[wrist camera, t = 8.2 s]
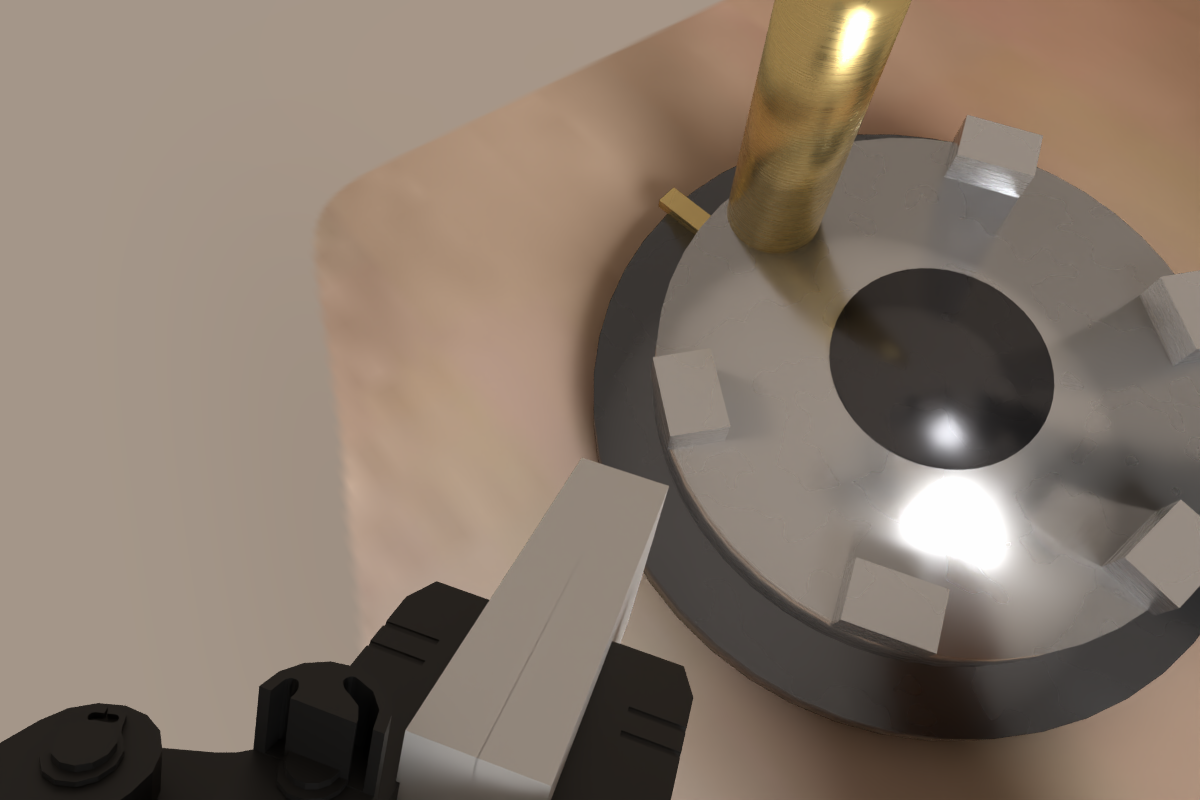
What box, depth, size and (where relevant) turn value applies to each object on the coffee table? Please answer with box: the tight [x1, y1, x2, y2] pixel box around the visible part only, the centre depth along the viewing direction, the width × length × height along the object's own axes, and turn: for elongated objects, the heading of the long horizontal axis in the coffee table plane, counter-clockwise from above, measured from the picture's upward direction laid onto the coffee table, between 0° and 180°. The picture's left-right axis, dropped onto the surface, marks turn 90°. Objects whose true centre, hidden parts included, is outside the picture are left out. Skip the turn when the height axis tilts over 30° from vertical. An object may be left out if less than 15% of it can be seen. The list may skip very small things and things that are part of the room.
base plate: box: [594, 135, 1200, 741], centre depth 30 cm, size 22×22×2 cm
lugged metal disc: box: [651, 0, 1200, 667], centre depth 24 cm, size 18×18×12 cm
